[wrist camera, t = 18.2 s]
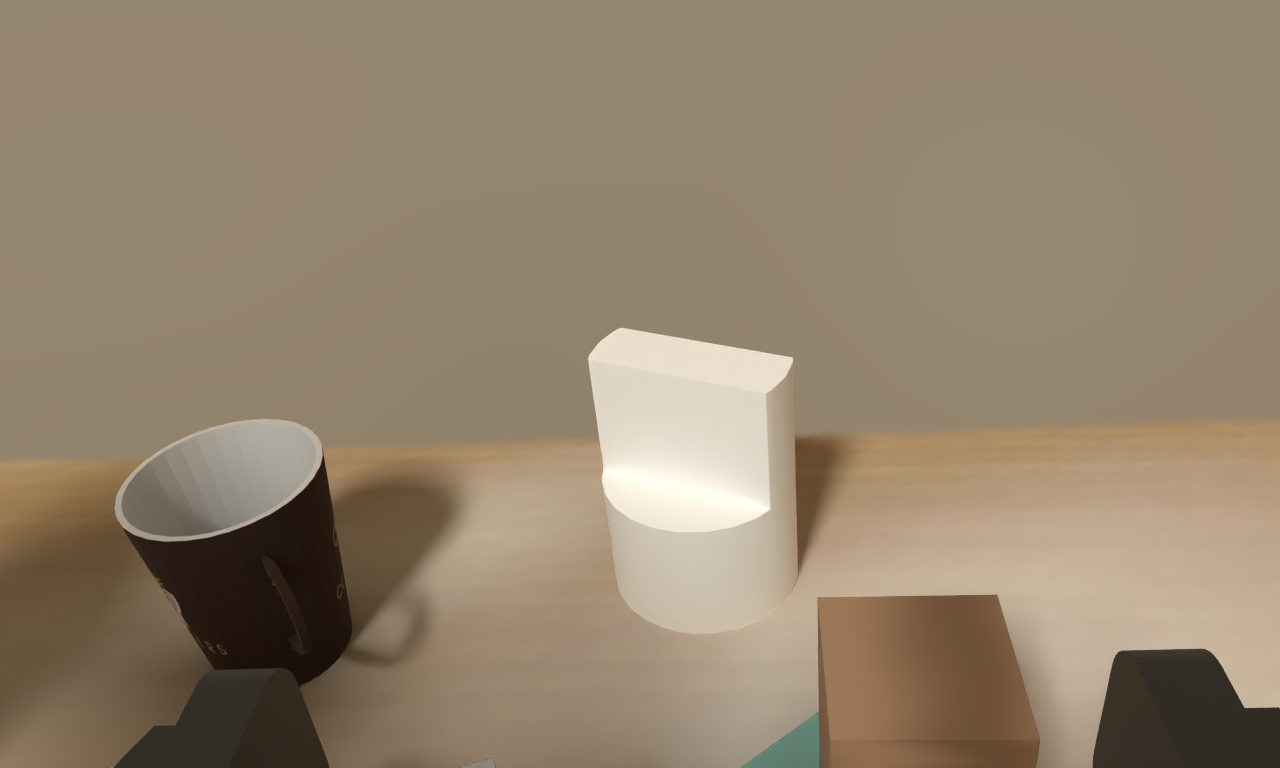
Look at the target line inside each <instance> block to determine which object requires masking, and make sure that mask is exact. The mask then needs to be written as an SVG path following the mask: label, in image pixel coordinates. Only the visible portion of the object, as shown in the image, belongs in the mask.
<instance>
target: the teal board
mask: <svg viewBox="0 0 1280 768" xmlns="http://www.w3.org/2000/svg"><path fill="white" fill-rule="evenodd" d="M741 768H820V763H819V712H818V713H817V714H815V715H814V716H813V717H811V718H810V719H808V720H807V721H805V722H804V723H803V724H801V725H800V726H798V727H797V728H796V729H794V730H793V731H791V732H790V733H789V734H787V735H786V736H784V737H783V738H782V739H780V740H779V741H777V742H776V743H775V744H773V745H772V746H770V747H769V748H768V749H766V750H765V751H763V752H762V753H761V754H759V755H758V756H756V757H755V758H754V759H752V760H751V761H749V762H748V763H746V764H745V765H744V766H742V767H741Z"/></svg>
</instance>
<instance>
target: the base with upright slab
mask: <svg viewBox="0 0 1280 768" xmlns="http://www.w3.org/2000/svg"><path fill="white" fill-rule="evenodd" d="M588 362H589V369H590V376H591V383H592V390H593V397H594V403H595V411H596V417H597V424H598V431H599V438H600V445H601V452H602V459H603V466H604V470H603V475H602V485H603V492H604V499H605V506H606V513H607V519H608V526H609V533H610V540H611V547H612V554H613V560H614V567H615V574H616V579H617V584H618V589H619V592H620V594H621V595H622V597H623V599H624V600H625V602H626V603H627V605H628V606H629V607H630V608H631V609H632V610H634V611H635V612H636V613H637V614H639V615H640V616H641V617H642V618H643V619H645V620H647V621H649V622H652V623H654V624H656V625H658V626H661V627H663V628H665V629H670V630H675V631H680V632H685V633H720V632H725V631H730V630H735V629H740V628H742V627H745V626H747V625H750V624H752V623H755V622H757V621H759V620H762V619H763V618H765V617H766V616H768V615H769V614H770V613H772V612H773V611H775V610H776V609H777V608H779V607H780V606H781V605H782V604H783V602H784V601H785V600H786V598H787V597H788V596H789V595H790V593H791V592H792V591H793V588H794V585H795V582H796V579H797V576H798V553H797V512H796V471H795V430H794V391H793V358H792V357H786V356H780V355H774V354H769V353H763V352H757V351H751V350H746V349H740V348H734V347H728V346H722V345H717V344H711V343H705V342H699V341H694V340H688V339H683V338H677V337H671V336H665V335H660V334H654V333H648V332H642V331H637V330H631V329H625V328H619V329H617V330H615V331H614V332H612V333H611V334H610V335H608V336H607V337H606V338H604V339H603V340H602V341H600V342H599V343H598V345H597V346H596V347H595V348H594V350H593V351H592V352H591V354H590V355H589V358H588Z"/></svg>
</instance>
